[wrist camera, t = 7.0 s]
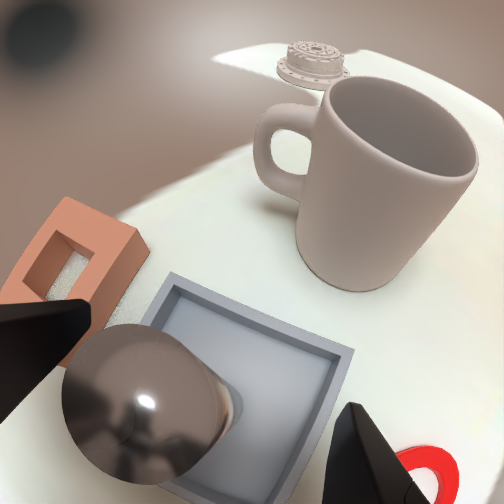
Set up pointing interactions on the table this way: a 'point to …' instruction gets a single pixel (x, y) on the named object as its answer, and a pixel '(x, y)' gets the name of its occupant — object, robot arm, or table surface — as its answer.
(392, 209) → the mug
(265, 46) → the table surface
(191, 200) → the table surface
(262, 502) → the tray
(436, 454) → the tow hook
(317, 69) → the mechanical component
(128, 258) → the block
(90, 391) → the pin
